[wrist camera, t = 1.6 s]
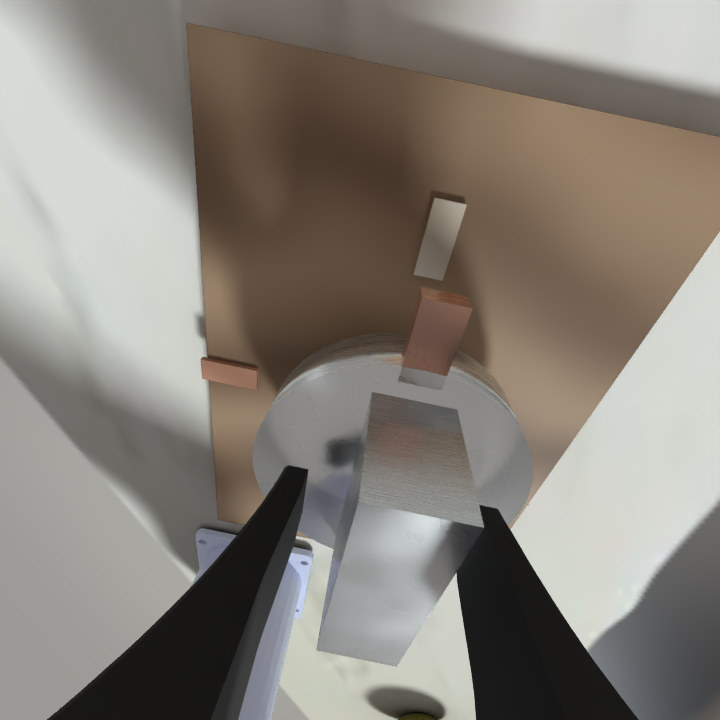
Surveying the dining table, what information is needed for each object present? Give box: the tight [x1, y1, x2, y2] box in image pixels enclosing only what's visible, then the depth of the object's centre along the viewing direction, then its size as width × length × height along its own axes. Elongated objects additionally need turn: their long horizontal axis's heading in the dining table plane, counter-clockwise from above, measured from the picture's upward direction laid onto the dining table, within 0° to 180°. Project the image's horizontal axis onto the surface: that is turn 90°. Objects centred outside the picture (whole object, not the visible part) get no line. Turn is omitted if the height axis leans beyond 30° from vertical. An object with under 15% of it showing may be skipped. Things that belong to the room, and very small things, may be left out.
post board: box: [187, 23, 720, 539], centre depth 14 cm, size 22×16×3 cm
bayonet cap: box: [252, 287, 534, 667], centre depth 10 cm, size 11×9×6 cm
